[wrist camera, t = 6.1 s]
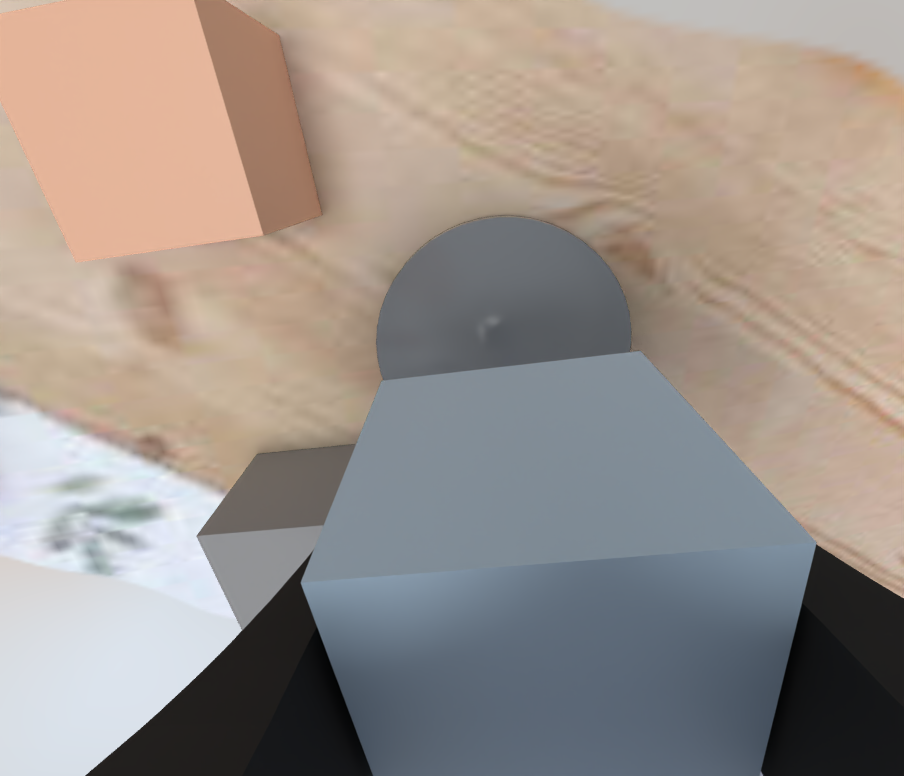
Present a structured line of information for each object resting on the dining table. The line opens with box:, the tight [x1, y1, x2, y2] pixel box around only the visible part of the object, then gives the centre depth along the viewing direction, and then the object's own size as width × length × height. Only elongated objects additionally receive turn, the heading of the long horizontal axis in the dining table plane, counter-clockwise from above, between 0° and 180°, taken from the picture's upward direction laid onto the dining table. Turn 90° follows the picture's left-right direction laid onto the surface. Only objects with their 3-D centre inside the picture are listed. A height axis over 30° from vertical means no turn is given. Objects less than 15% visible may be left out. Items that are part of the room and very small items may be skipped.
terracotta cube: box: [0, 0, 322, 262], centre depth 13 cm, size 5×5×5 cm
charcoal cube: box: [197, 444, 356, 630], centre depth 19 cm, size 5×5×5 cm
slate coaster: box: [376, 216, 631, 380], centre depth 17 cm, size 9×9×1 cm
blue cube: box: [301, 351, 817, 776], centre depth 8 cm, size 5×5×5 cm
